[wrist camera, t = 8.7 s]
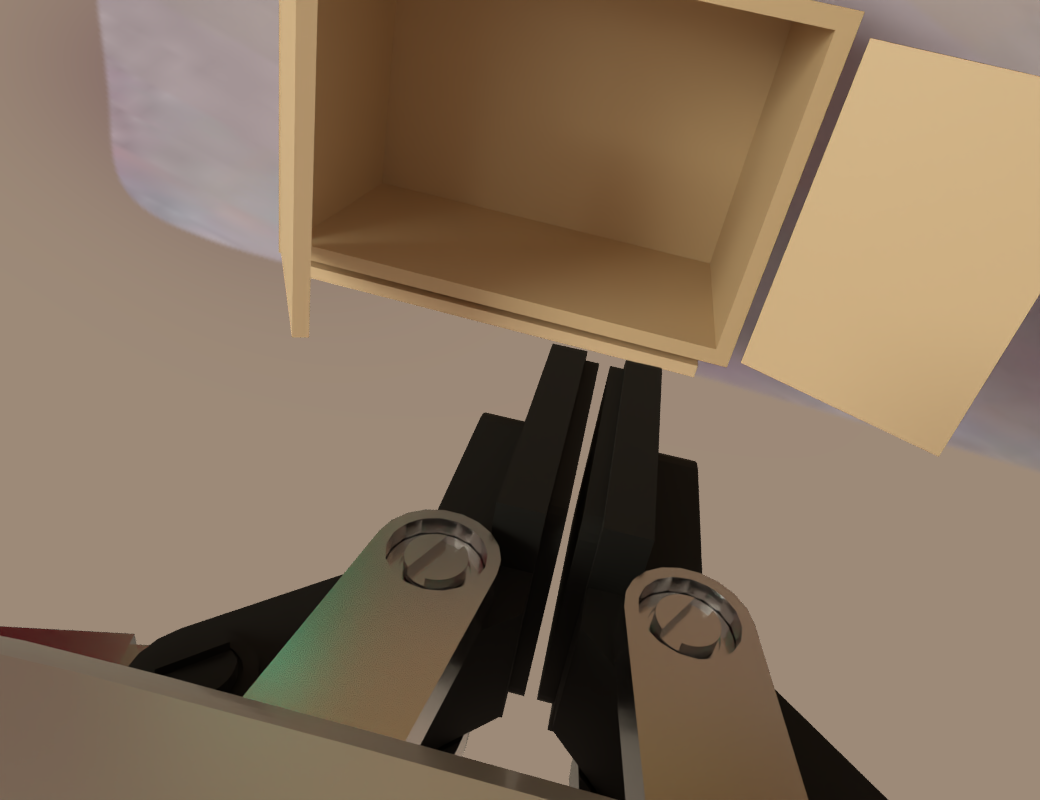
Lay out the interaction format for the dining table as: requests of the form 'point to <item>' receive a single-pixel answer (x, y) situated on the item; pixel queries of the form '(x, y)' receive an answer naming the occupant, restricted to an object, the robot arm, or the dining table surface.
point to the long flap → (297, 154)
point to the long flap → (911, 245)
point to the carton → (568, 160)
